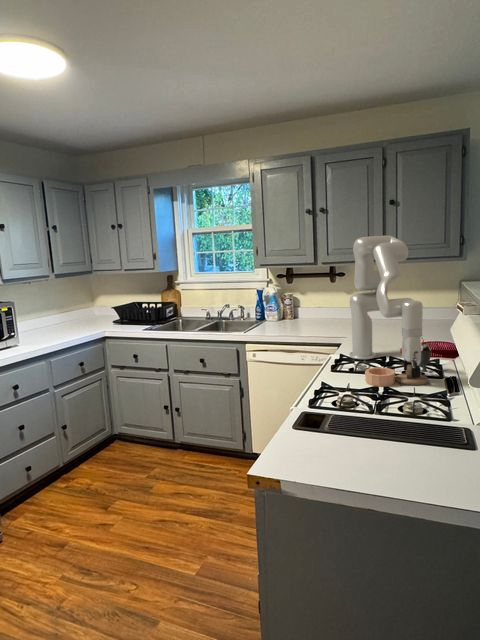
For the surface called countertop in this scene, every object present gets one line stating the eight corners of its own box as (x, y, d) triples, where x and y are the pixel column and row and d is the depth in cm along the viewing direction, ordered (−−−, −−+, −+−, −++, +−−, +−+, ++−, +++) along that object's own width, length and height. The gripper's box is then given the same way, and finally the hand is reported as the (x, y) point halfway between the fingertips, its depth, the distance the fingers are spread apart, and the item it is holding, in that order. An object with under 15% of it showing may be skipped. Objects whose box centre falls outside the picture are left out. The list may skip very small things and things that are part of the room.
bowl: (363, 379, 186) (362, 368, 185) (390, 378, 185) (390, 366, 184) (369, 388, 175) (368, 376, 174) (398, 387, 174) (398, 375, 173)
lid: (391, 376, 186) (391, 362, 184) (422, 375, 185) (422, 361, 184) (400, 386, 173) (400, 371, 172) (432, 385, 172) (433, 369, 171)
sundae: (419, 369, 195) (420, 335, 192) (435, 371, 190) (435, 337, 187) (413, 372, 190) (413, 338, 188) (428, 375, 186) (429, 340, 183)
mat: (392, 378, 185) (392, 376, 185) (421, 376, 185) (421, 375, 184) (400, 387, 174) (400, 386, 174) (432, 386, 173) (432, 385, 173)
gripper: (396, 328, 184) (396, 367, 187) (409, 337, 167) (409, 380, 170) (414, 327, 184) (414, 367, 187) (429, 336, 167) (429, 380, 170)
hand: (411, 373), depth 178 cm, fingers open, 9 cm apart
